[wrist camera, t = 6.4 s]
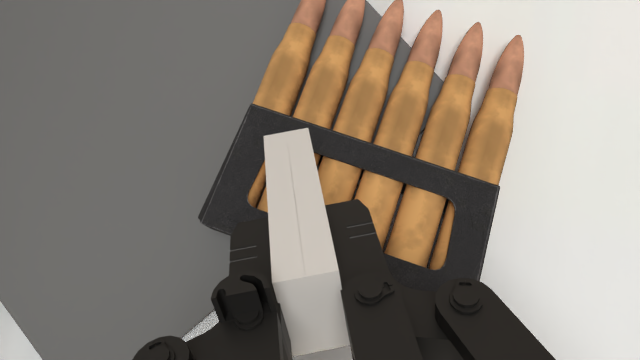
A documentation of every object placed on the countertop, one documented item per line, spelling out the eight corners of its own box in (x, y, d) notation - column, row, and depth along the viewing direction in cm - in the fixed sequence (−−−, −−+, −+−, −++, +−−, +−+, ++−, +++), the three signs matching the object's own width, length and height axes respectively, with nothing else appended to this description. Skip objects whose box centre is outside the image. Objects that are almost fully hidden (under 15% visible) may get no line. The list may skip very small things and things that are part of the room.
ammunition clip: (195, 221, 18) (303, -46, 21) (206, 227, 20) (304, -19, 22) (471, 319, 18) (550, 31, 20) (457, 316, 19) (531, 52, 22)
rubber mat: (-145, 90, 22) (-154, 87, 22) (203, -165, 24) (201, -172, 24) (90, 415, 19) (85, 418, 19) (456, 101, 21) (459, 98, 21)
